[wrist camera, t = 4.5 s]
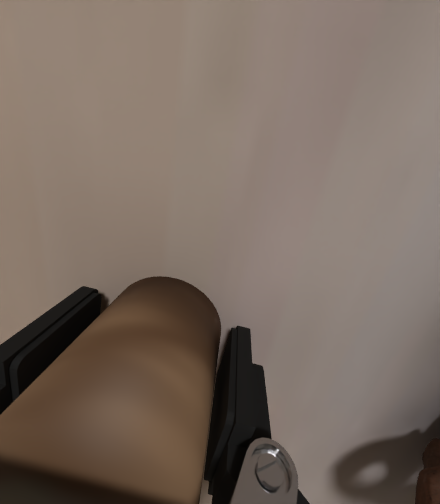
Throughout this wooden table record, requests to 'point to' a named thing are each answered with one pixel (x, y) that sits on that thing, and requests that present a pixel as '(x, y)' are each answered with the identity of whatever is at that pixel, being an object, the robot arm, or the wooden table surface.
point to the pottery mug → (429, 475)
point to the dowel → (119, 406)
